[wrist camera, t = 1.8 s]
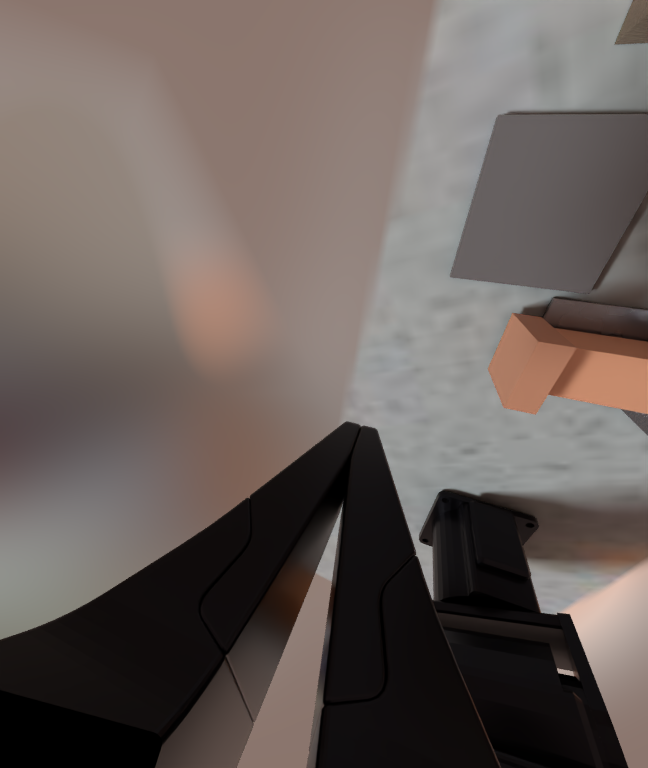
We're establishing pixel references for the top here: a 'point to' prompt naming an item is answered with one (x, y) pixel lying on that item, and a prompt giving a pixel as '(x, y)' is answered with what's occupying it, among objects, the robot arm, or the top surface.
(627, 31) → the open wooden box
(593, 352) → the lock bar
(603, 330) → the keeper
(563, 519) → the top surface
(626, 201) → the coaster
